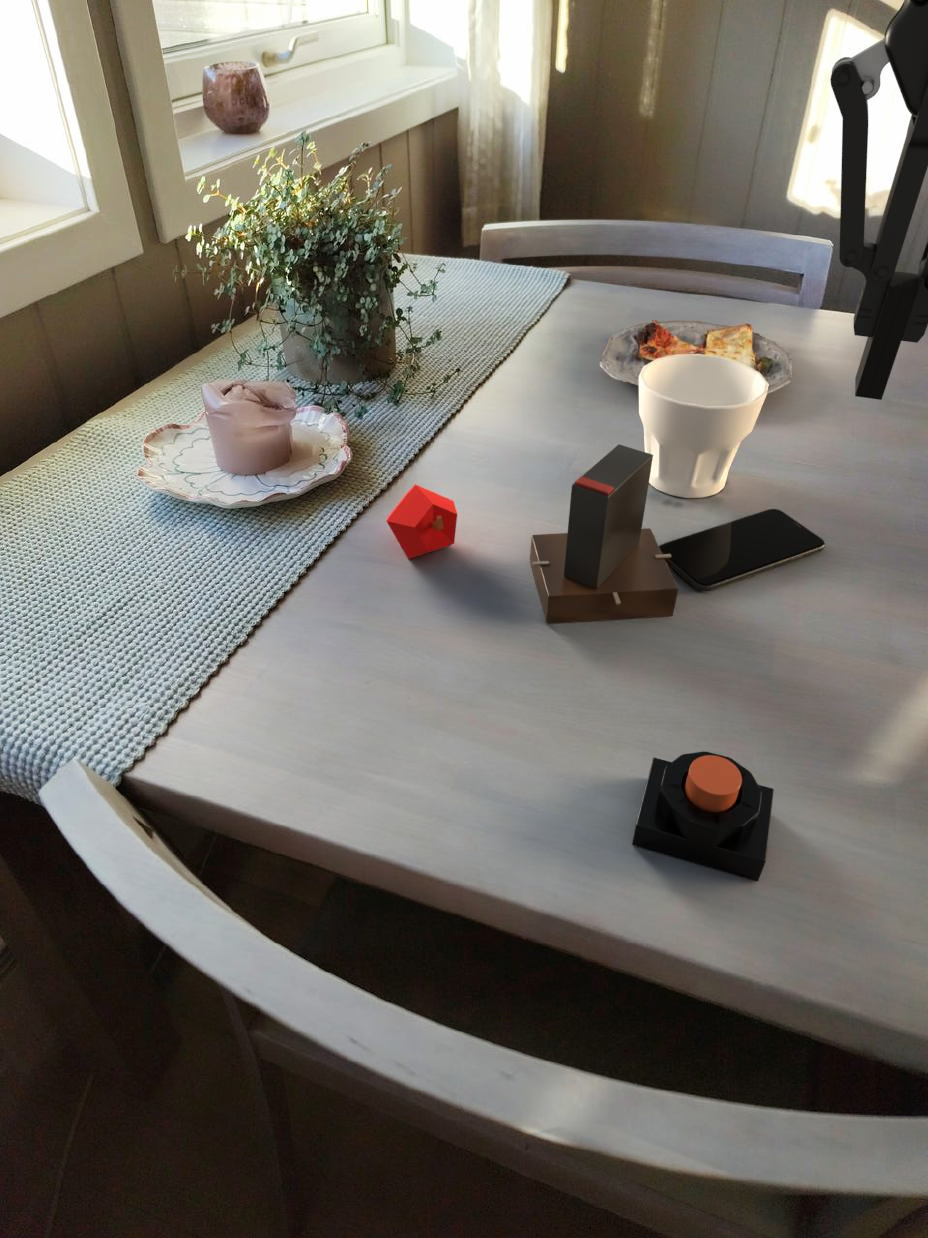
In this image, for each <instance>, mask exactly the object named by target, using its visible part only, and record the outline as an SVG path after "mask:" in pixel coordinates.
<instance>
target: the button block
mask: <svg viewBox="0 0 928 1238" xmlns="http://www.w3.org/2000/svg"><path fill="white" fill-rule="evenodd" d="M707 755H713V756H719V757H722V758H725V759H727V760H729V761H730V762H732V763H733V764H734V765H735V766H736V767H737V768H738V770H739V771H740V774H741V777H742V782H741V786H740V789H739V792H738V795H737V798H736V801H735V804H734V805H733V806H732V807H731V808H730V809H728V810H726V811H723V812H709V811H705V810H702V809H700V808H698V807H697V806H695V805H694V804H693V803H692V802H691V801H690V800H689V799H688V797H687V795H686V792H685V784H686V780H687V776H688V772H689V768H690V765H691V764H692V762H693V761H694V760H696V759H697V758H699V757H702V756H707ZM774 791H775V789H774V788H772V787H768V786H765V785H761V784H758V782H757V781H756V779H755V777H754V775H753V773H752V772H751V771H750V770H749V769H747V768H746V767H745V766H743V765H742V764H741V763H738V762H737V761H736V760H734V759H733V758H732V757H729V756H725V755H721V754H718V753H714V752H710V751H695V752H689V753H683V754H681V755H679V756H678V757H677V758H675V759H673V761H670V760H665V759H661V758H657V757H652V761H651V764H650V768H649V772H648V776H647V780H646V784H645V788H644V792H643V796H642V800H641V804H640V808H639V811H638V816H637V819H636V824H635V827H634V833H633V836H632V842H631V846H634V847H637V848H641V849H643V850H647V851H651V852H654V853H657V854H661V855H664V856H668V857H672V858H674V859H677V860H682V861H685V862H688V863H692V864H696V865H699V866H702V867H706V868H708V869H713V870H715V871H720V872H723V873H727V874H729V875H734V876H737V877H740V878H744V879H747V880H751V881H754V882H759V880H760V878H761V876H762V873H763V870H764V867H765V865H766V861H767V854H768V847H769V836H770V827H771V819H772V810H773V800H774V793H775V792H774Z"/></svg>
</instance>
